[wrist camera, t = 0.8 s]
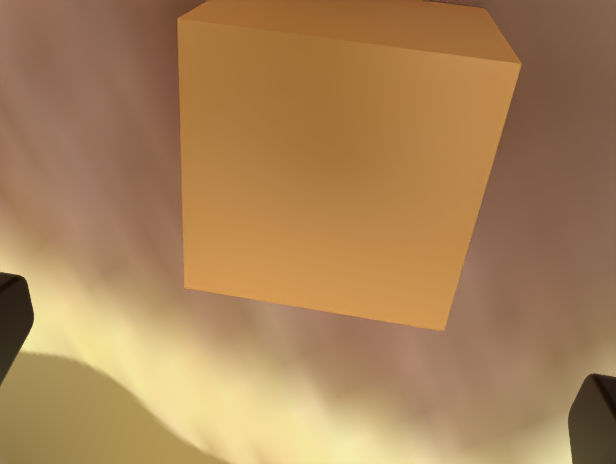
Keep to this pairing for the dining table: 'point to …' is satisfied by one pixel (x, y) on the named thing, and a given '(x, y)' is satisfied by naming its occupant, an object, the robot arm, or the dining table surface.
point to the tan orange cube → (338, 150)
